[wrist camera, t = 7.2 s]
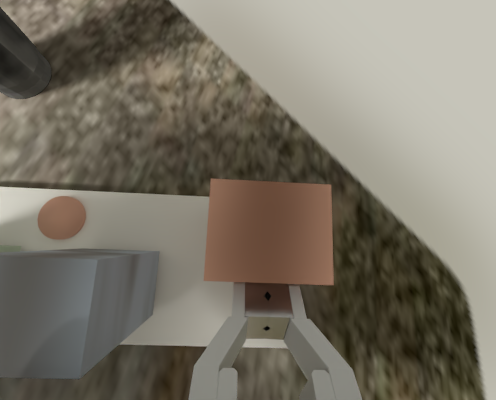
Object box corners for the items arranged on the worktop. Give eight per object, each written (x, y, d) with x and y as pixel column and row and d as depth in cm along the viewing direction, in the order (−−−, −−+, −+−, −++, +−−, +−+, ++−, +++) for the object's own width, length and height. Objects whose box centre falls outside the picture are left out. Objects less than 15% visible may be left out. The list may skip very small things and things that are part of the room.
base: (-54, 330, 16) (-90, 342, 14) (-18, 189, 18) (-46, 183, 16) (291, 339, 17) (297, 350, 15) (292, 204, 19) (298, 200, 17)
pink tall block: (218, 263, 16) (203, 280, 9) (221, 204, 16) (210, 178, 9) (291, 265, 16) (333, 285, 9) (291, 208, 16) (331, 184, 10)
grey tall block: (73, 312, 15) (-74, 376, 8) (83, 248, 15) (-42, 254, 8) (152, 314, 15) (79, 378, 8) (159, 251, 16) (97, 259, 9)
